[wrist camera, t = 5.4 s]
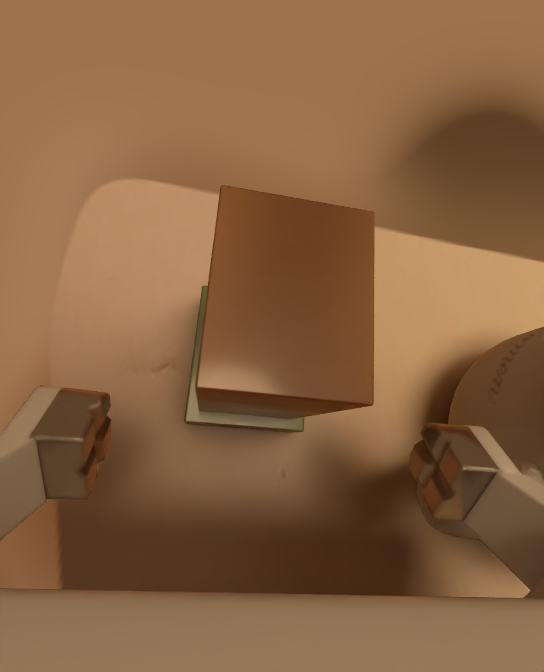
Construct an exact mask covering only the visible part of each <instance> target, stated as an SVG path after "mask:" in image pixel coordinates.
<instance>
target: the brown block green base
mask: <svg viewBox="0 0 544 672" xmlns="http://www.w3.org/2000/svg"><path fill="white" fill-rule="evenodd" d="M373 399H374V212H372V211H366V210H361V209H355V208H349V207H344V206H338V205H332V204H327V203H321V202H315V201H309V200H304V199H299V198H293V197H287V196H282V195H276V194H270V193H264V192H259V191H253V190H247V189H242V188H236V187H230V186H225V185H222V186H221V188H220V195H219V203H218V211H217V219H216V227H215V234H214V242H213V250H212V258H211V266H210V273H209V281H208V286H202V292H201V299H200V307H199V314H198V322H197V329H196V337H195V345H194V352H193V360H192V367H191V375H190V382H189V390H188V397H187V405H186V413H185V422H186V423H188V424H198V425H210V426H223V427H235V428H247V429H259V430H272V431H284V432H303V430H304V417H307V416H313V415H319V414H325V413H331V412H337V411H343V410H349V409H355V408H361V407H367V406H372V405H373Z"/></svg>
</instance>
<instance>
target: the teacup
mask: <svg viewBox="0 0 544 672" xmlns="http://www.w3.org/2000/svg"><path fill="white" fill-rule="evenodd" d="M448 424H454V425H471V426H482V427H483V428H485V429H486V430H488V432H489V433H490V434H491V436H492V437H493V438H494V439H495V441H496V442H497V443H498V445H499V446H500V447H501V448H502V450H503V451H504V452H505V453H506V455H507V456H508V457H509V459H510V460H511V461H512V462H513V464H514V465H515V466H516V468H517V469H518V470H519V471H520V473H521V474H526V475H528V476H530V477H531V478H533V479H534V480H536V481H537V482H539V483H540V484H542V485H543V486H544V327H542V328H538V329H535V330H532V331H529V332H526V333H523V334H520V335H517V336H515V337H513V338H510V339H508V340H505V341H503V342H502V343H500V344H498V345H496V346H494V347H493V348H491V349H490V350H488V351H487V352H485V353H484V354H483V355H482V356H481V357H479V358H478V359H477V360H476V361H475V362H474V363H473V364H472V365H471V367H470V368H469V369H468V371H467V372H466V373H465V375H464V376H463V378H462V380H461V382H460V384H459V385H458V387H457V389H456V392H455V395H454V398H453V401H452V404H451V408H450V413H449V420H448ZM423 490H424V488H423V487H422V486H421V485H420V484H419V483H418V484H417V498H418V502H419V505H420V507H421V510H422V513H423V515H424V517H425V519H426V520H427V522H428V523H429V524H430V525H431V526H432V527H434V528H435V529H436V530H438V531H441V532H443V533H446V534H449V535H453V536H456V537H465V538H473V539H480V538H479V537H478V536H477V535H476V534H475V533H474V532H473V531H472V530H471V529H470V528H469V527H468V526H467V525H466V524H465V523H464V521H463V520H451V519H439V518H433V517H432V515H431V513H430V511H429V509H428V507H427V505H426V503H425V500H424V498H423V496H422V493H423Z"/></svg>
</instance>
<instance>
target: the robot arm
mask: <svg viewBox="0 0 544 672" xmlns="http://www.w3.org/2000/svg"><path fill="white" fill-rule="evenodd" d="M110 406H111V404H110V395H109V394H108V393H106V392H98V391H89V390H80V389H71V388H59V387H50V386H39V387H37V388H35V390H34V391H33V392H32V393H31V395H30V396H29V397H28V399H27V400H26V401H25V402H24V404H23V405H22V407H21V408H20V409H19V410H18V412H17V413H16V414H15V416H14V417H13V418H12V420H11V421H10V422H9V424H8V425H7V426H6V428H5V429H4V430H3V432H2V433H1V434H0V540H2V539H3V538H4V537H5V536H6V535H7V534H9V533H10V532H11V531H12V530H13V529H14V528H16V527H17V526H18V525H19V524H20V523H21V522H23V521H24V520H25V519H26V518H27V517H28V516H30V515H31V514H32V513H33V512H34V511H35V510H37V509H38V508H39V507H40V506H41V505H43V504H44V503H45V502H46V499H69V500H88V498H89V496H90V493H91V491H92V488H93V486H94V483H95V481H96V478H97V476H98V470H97V464H98V463H100V462H101V461H103V460H104V458H105V455H106V453H107V450H108V446H109V442H110V438H111V419H110V418H109V417H108V416H107V413H108V411H109V409H110ZM421 436H422V439H423V440H421V441H420V442H418V443H417V444H415V445H414V447H413V449H412V452H411V454H410V468H411V472H412V475H413V477H414V479H415V481H416V482H417V483H419V484H420V485H421V486H422V487H423V488H424V490H423V493H422V496H423V498H424V500H425V503H426V505H427V507H428V509H429V511H430V513H431V515H432V517H433V518H439V519H451V520H463V521H464V523H465V524H466V525H467V526H468V527H469V528H470V529H471V530H472V531H473V532H474V533H475V534H476V535H477V536H478V537H479V538H480V540H481V541H482V542H483V543H484V544H485V545H486V546H487V547H488V548H489V549H490V550H491V551H492V552H493V553H494V554H495V555H496V556H497V557H498V558H499V559H500V560H501V561H502V562H503V563H504V564H505V565H506V566H507V567H508V568H509V569H510V570H511V571H512V572H513V573H514V574H515V575H516V576H517V577H518V578H519V579H520V580H521V581H522V582H523V583H524V584H525V585H526V586H527V587H528V588H529V589H530V590H531V591H530V592H529V593H528V594H527V595H526V596H525V597H524V598H486V597H431V596H377V595H322V594H268V593H214V592H161V591H109V590H56V589H54V590H53V589H4V588H3V589H2V588H0V672H544V486H543V485H542V484H540V483H539V482H537V481H536V480H534V479H533V478H531V477H530V476H528V475H526V474H521V473H520V471H519V470H518V469H517V468H516V466H515V465H514V464H513V462H512V461H511V460H510V459H509V457H508V456H507V455H506V453H505V452H504V451H503V450H502V448H501V447H500V446H499V445H498V443H497V442H496V441H495V439H494V438H493V437H492V436H491V434H490V433H489V432H488V430H486V429H485V428H483V427H482V426H471V425H454V424H442V423H430V422H429V423H427V424H426V425H425V426H424V427H423V429H422V431H421Z"/></svg>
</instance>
